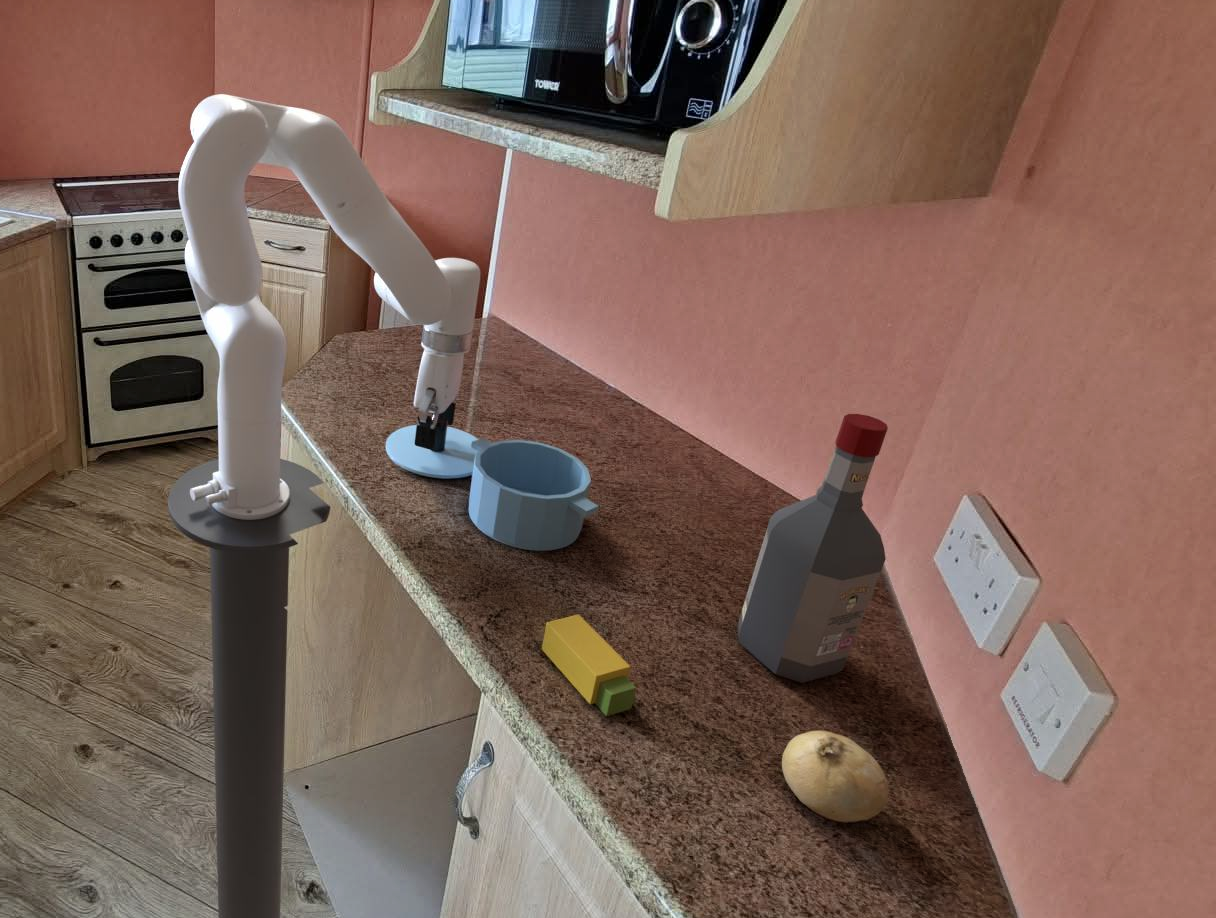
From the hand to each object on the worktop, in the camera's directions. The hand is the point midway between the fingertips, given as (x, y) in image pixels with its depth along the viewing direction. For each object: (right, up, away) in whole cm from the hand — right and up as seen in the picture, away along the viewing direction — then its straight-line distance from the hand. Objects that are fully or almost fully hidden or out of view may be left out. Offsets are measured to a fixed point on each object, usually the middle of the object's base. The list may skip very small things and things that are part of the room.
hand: (434, 434), depth 130 cm
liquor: (+32, -21, -39) cm, 55 cm away
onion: (+25, -28, -56) cm, 67 cm away
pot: (+10, -11, -15) cm, 21 cm away
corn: (+7, -22, -42) cm, 48 cm away
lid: (+1, -3, +1) cm, 3 cm away
